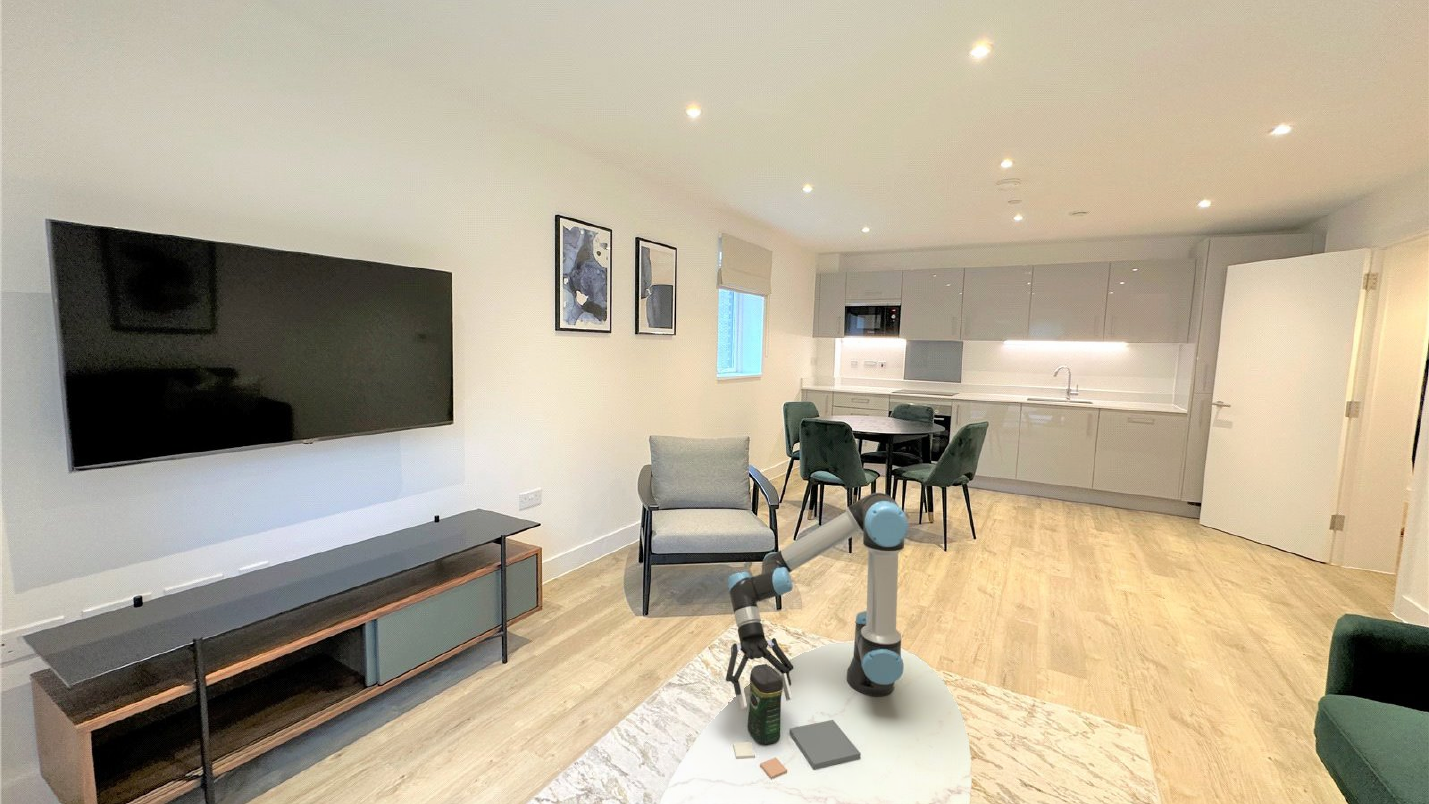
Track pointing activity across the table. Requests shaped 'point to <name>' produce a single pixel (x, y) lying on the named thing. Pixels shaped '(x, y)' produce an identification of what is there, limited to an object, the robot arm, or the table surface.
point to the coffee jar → (765, 704)
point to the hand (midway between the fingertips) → (767, 703)
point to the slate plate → (824, 744)
